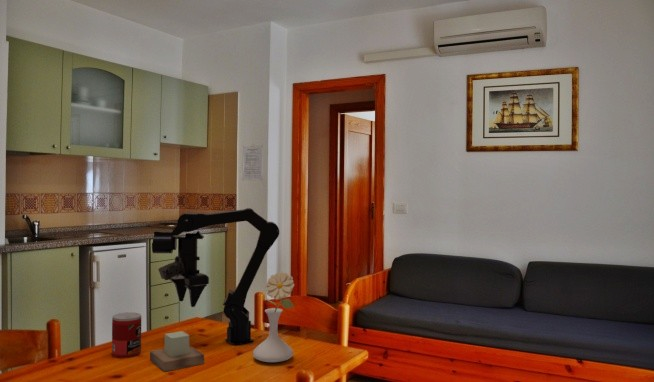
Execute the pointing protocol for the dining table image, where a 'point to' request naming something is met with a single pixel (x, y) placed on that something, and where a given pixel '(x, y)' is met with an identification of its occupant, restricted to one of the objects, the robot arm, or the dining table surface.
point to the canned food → (126, 334)
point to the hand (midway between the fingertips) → (186, 303)
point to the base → (176, 359)
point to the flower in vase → (276, 320)
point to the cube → (176, 344)
